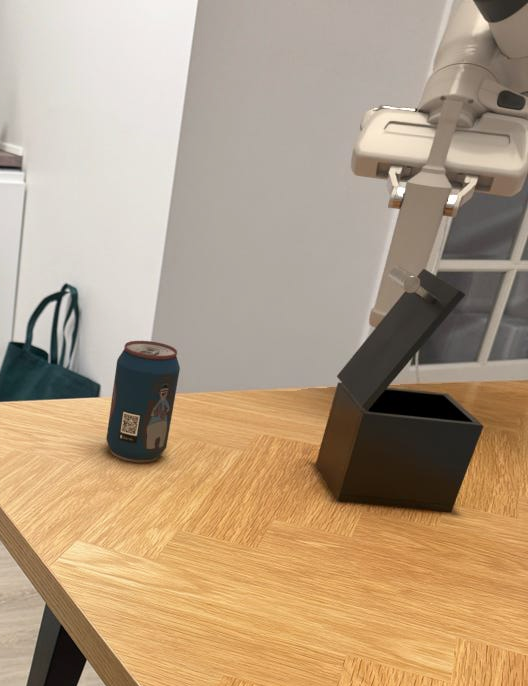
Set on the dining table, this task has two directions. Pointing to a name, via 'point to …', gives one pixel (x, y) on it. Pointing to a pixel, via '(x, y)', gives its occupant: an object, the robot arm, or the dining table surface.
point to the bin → (398, 449)
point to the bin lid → (399, 334)
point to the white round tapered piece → (419, 214)
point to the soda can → (142, 401)
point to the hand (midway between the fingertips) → (422, 209)
